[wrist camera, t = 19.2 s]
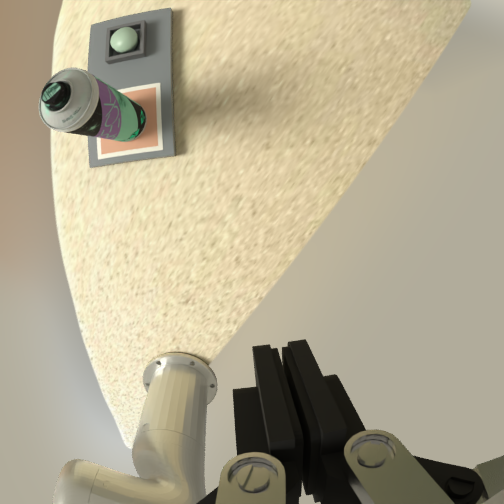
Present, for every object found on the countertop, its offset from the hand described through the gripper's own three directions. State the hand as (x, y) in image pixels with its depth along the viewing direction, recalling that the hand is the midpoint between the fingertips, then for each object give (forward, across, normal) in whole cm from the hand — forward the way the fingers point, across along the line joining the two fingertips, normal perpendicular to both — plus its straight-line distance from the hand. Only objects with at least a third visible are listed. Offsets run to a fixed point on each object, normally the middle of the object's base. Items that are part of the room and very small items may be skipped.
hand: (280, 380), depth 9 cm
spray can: (+32, +13, -15) cm, 38 cm away
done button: (+31, +13, -26) cm, 43 cm away
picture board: (+34, +13, -20) cm, 41 cm away
